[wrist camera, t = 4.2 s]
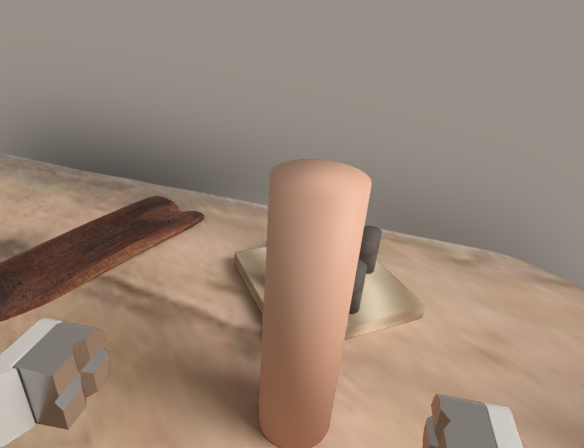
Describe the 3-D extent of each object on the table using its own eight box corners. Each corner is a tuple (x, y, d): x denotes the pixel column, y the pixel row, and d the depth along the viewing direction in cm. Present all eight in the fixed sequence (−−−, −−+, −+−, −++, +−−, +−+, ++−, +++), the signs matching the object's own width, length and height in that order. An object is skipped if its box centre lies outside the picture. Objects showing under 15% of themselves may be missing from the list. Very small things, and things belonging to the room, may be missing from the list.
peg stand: (285, 356, 34) (290, 297, 31) (234, 263, 45) (234, 214, 42) (421, 317, 39) (436, 265, 37) (346, 243, 51) (353, 198, 48)
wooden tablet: (-18, 327, 33) (-79, 270, 37) (-12, 347, 34) (-71, 289, 38) (211, 213, 53) (156, 184, 57) (210, 227, 55) (156, 198, 58)
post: (274, 461, 26) (295, 204, 18) (248, 398, 30) (255, 163, 22) (343, 435, 28) (392, 191, 20) (310, 379, 32) (339, 156, 24)
